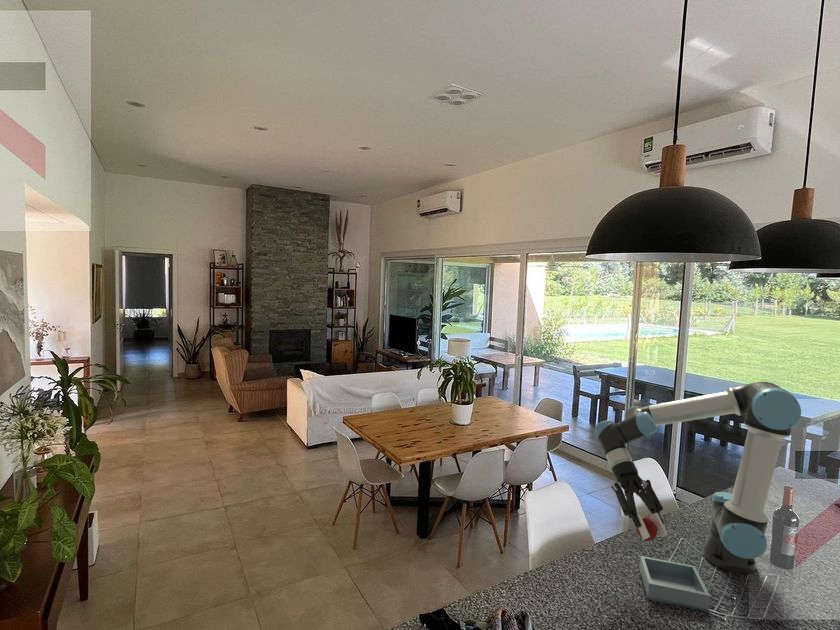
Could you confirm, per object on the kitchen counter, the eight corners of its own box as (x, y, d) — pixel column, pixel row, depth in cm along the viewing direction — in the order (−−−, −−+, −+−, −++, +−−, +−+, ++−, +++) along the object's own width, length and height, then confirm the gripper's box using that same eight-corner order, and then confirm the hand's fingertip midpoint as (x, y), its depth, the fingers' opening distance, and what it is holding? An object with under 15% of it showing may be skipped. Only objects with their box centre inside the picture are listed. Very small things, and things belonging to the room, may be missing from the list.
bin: (693, 581, 145) (695, 566, 144) (708, 612, 130) (709, 595, 130) (639, 570, 149) (640, 555, 149) (647, 599, 135) (648, 583, 135)
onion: (659, 547, 138) (660, 521, 138) (639, 545, 140) (640, 519, 139) (653, 537, 144) (654, 513, 144) (634, 535, 145) (635, 511, 145)
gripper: (639, 467, 158) (674, 537, 143) (592, 471, 154) (623, 544, 139) (651, 458, 153) (688, 529, 138) (603, 461, 149) (635, 536, 133)
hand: (655, 536), depth 138 cm, fingers closed on onion, 6 cm apart
